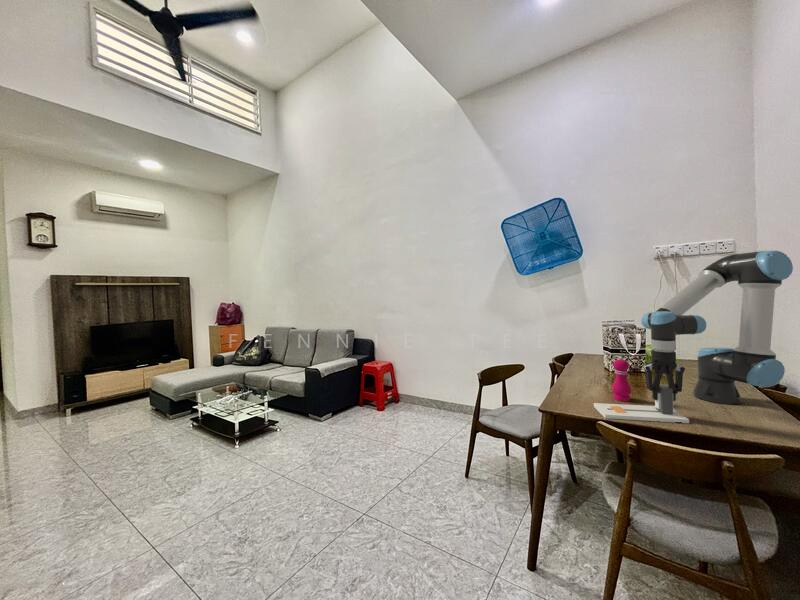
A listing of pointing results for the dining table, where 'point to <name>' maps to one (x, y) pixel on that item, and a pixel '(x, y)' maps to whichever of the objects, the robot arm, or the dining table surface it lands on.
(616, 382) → the pepper mill
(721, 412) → the dining table surface
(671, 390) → the fader knob
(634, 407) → the plate
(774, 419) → the dining table surface
